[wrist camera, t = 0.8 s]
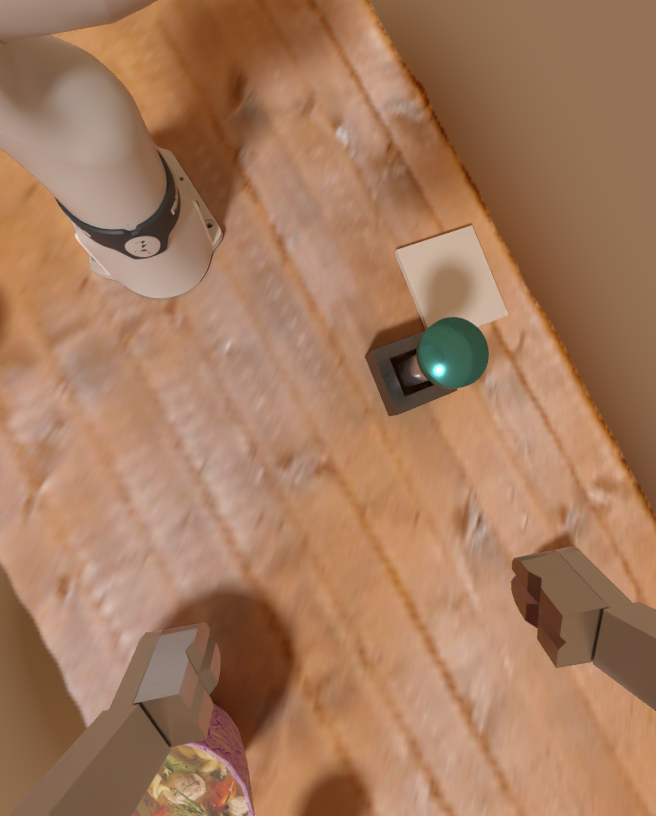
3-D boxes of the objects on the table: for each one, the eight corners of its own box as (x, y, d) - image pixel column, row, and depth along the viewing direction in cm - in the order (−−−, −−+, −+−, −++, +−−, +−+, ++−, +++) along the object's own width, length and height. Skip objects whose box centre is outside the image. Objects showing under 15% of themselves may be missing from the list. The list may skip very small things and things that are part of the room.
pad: (394, 253, 54) (396, 249, 53) (468, 228, 56) (471, 225, 55) (431, 344, 54) (434, 343, 53) (504, 316, 56) (508, 314, 55)
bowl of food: (98, 681, 44) (34, 768, 33) (252, 647, 47) (242, 716, 35) (113, 842, 43) (52, 990, 32) (270, 796, 46) (266, 917, 34)
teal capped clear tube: (373, 360, 52) (410, 330, 37) (418, 343, 53) (472, 307, 38) (392, 407, 52) (437, 397, 37) (436, 389, 53) (499, 372, 38)
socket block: (364, 356, 52) (371, 350, 48) (421, 335, 54) (432, 327, 50) (388, 416, 52) (397, 414, 48) (444, 393, 53) (457, 390, 50)
